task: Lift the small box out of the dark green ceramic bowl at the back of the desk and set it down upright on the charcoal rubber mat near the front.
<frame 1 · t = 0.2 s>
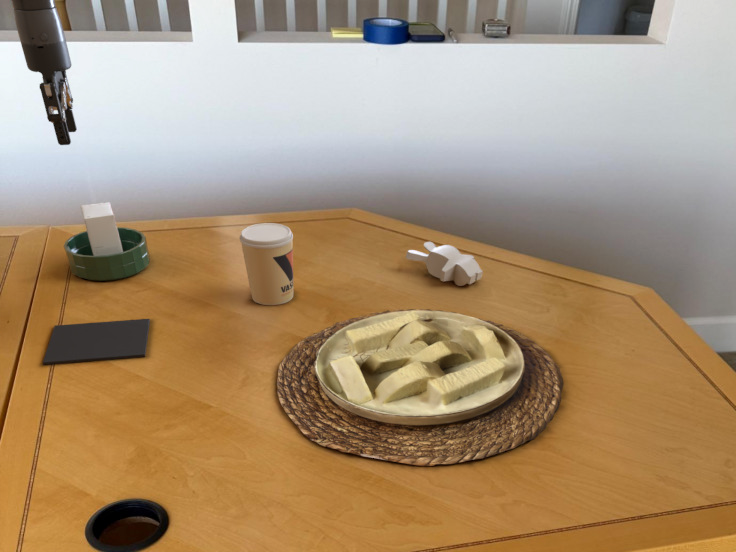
hand: (68, 137, 147), 21 cm above the table, tool pointing down, fingers open, 8 cm apart
bunny figurine: (445, 276, 152), on the table
small box: (110, 264, 154), resting on bowl
coffee cup: (273, 297, 144), on the table
bowl: (111, 266, 154), on the table
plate: (418, 380, 122), on the table
mat: (99, 342, 131), on the table
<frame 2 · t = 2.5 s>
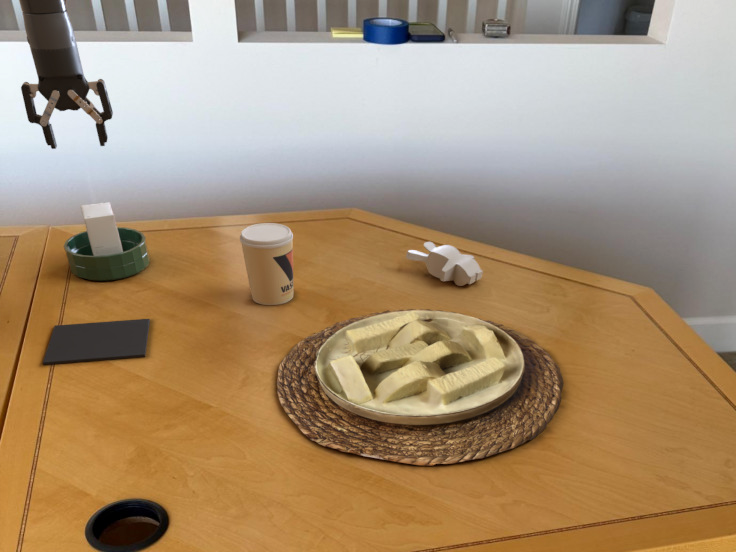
hand: (78, 146, 141), 22 cm above the table, tool pointing down, fingers open, 8 cm apart
nothing on the table moved.
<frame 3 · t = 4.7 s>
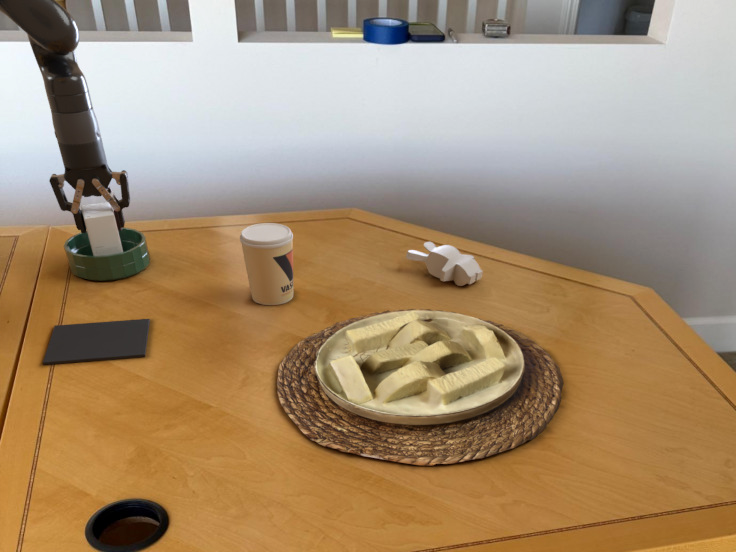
hand: (102, 230, 149), 7 cm above the table, tool pointing down, fingers closed on small box, 6 cm apart
small box: (110, 264, 154), resting on bowl, touching gripper
everything else where it was.
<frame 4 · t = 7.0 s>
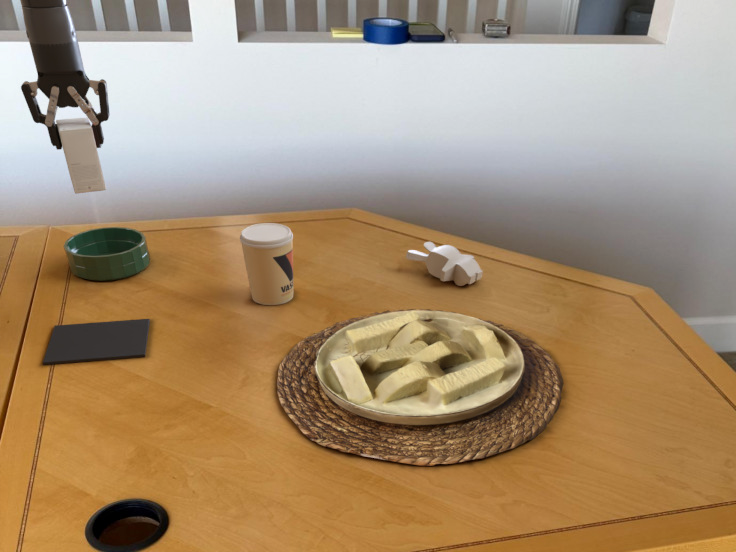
hand: (79, 147, 138), 22 cm above the table, tool pointing down, fingers closed on small box, 6 cm apart
small box: (88, 187, 143), point 16 cm above the table, touching gripper
everything else where it was.
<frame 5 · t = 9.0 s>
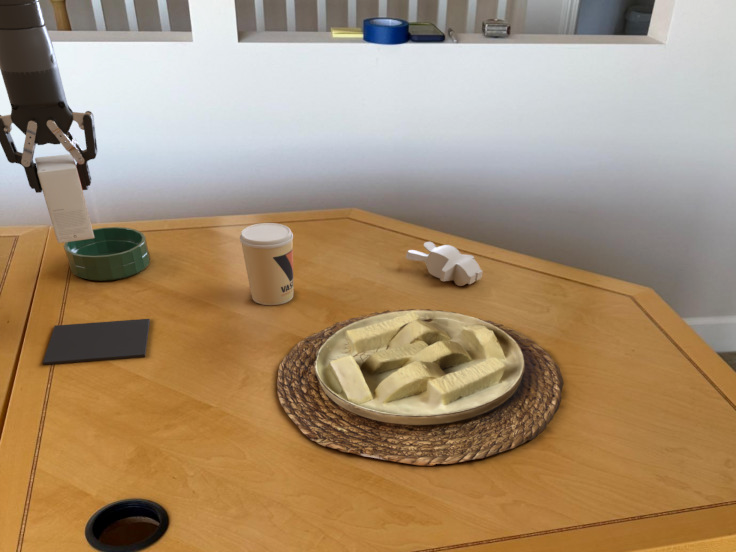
hand: (62, 189, 118), 24 cm above the table, tool pointing down, fingers closed on small box, 6 cm apart
small box: (74, 234, 123), point 17 cm above the table, touching gripper
everything else where it was.
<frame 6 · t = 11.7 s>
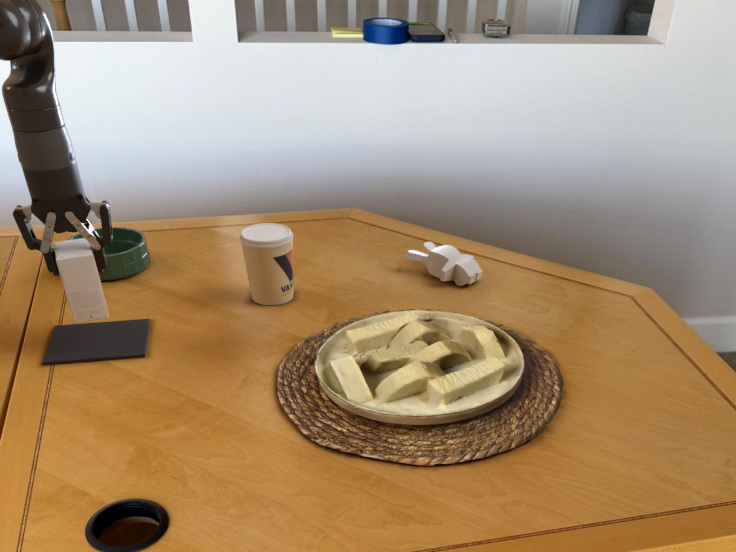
hand: (79, 272, 123), 12 cm above the table, tool pointing down, fingers closed on small box, 6 cm apart
small box: (90, 312, 127), point 5 cm above the table, touching gripper
everything else where it was.
when the fingers open (7 cm above the table, at t = 13.6 s): small box stays where it is, resting on mat.
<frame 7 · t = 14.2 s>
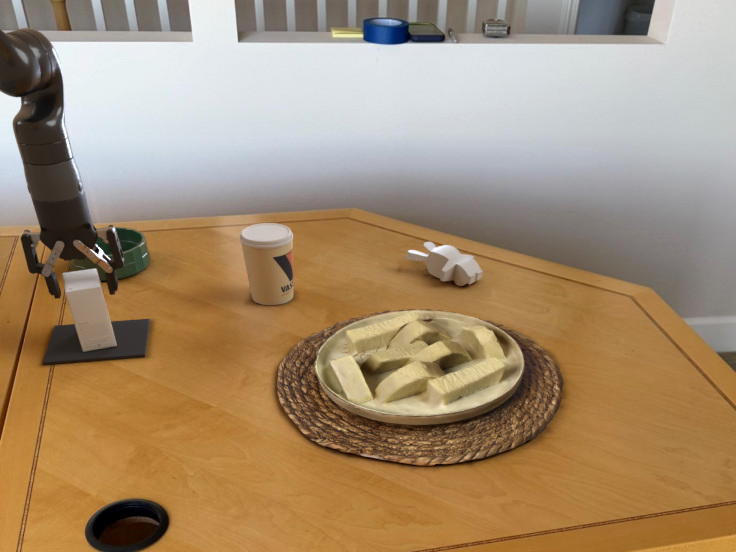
hand: (85, 294, 125), 8 cm above the table, tool pointing down, fingers open, 8 cm apart
small box: (98, 340, 130), resting on mat
everything else where it was.
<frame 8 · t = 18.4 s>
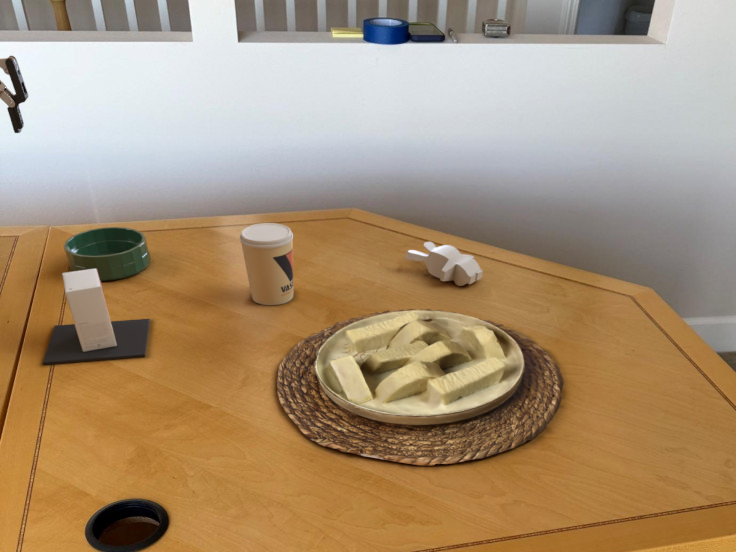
nothing on the table moved.
at the end: small box inside the target area on the mat (0.1 cm from its centre), point 0.3 cm above the mat's base; small box tilted 0°; small box touching mat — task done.
